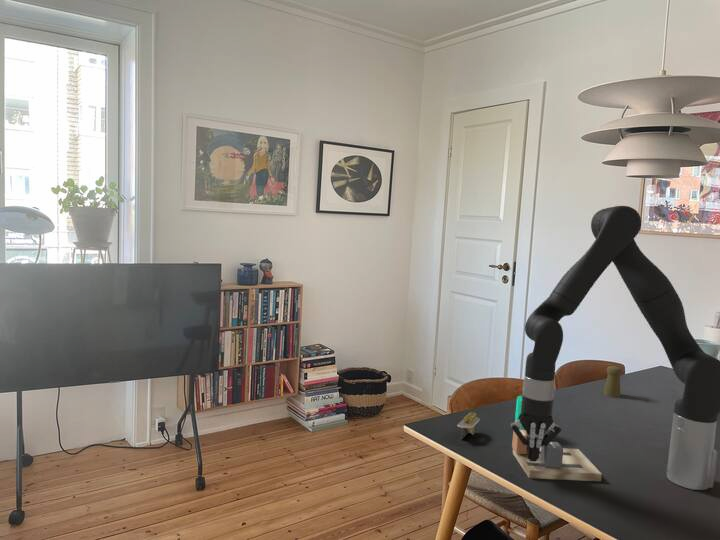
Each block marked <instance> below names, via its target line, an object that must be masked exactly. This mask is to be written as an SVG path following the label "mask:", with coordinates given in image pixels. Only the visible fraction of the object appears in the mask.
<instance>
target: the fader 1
mask: <svg viewBox="0 0 720 540" xmlns="http://www.w3.org/2000/svg"><path fill="white" fill-rule="evenodd" d="M519 431H520V432H521V433H522V435H523V436H524V438H526V439H527V435H526V431H525V430H519ZM511 448H512V450H513V449H514V451H515V452H516V454H526V450H527V445H524V444H523V443H522V442H521V440H520V439H519V438H518V436H517V435H516V433H515V432H514V430H513V429H512V443H511Z"/></svg>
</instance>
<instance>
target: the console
mask: <svg viewBox="0 0 720 540" xmlns="http://www.w3.org/2000/svg"><path fill="white" fill-rule="evenodd" d="M541 447H542V446H541ZM541 447H540V451H539V458H538V459H537V461H536V462H534V461H530V460H529V459H528V458H527V456H526V454H516V452H515V451H514V449H513V448H512V454H513V456H514V457H515V459H516V460H517V462H518V464H519V465H520V466H521V468H522V469H523V472H525V474H526V475H527V478H529V479H539V480H540V479H542V480H562V481H563V480H567V481H582V482H584V481H585V482H589V481H590V482H601V481H602V472H601V471H599V469H598V468H597V467H596V466H595V465H594V464H593V463H592V462H591V460H590V459H589V458H587V456H586V455H585V454H583V452H582V451H581V450H580V449H579V448H564V447H562V448H563V458H562V468H552V467H545V466H544V464H543V463H542V461H541V460H540V458H541Z"/></svg>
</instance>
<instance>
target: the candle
mask: <svg viewBox="0 0 720 540" xmlns="http://www.w3.org/2000/svg"><path fill="white" fill-rule="evenodd" d="M521 404H522V395H518V396H517V397H516V404H515V406H516V407H515V415H514V419H515V420H514V422H515V421H517V420H518V417H519V415H520V414H521ZM520 426H521V429H520V430H525V429H524V428H523V426H522V424H521V425H520Z"/></svg>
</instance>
